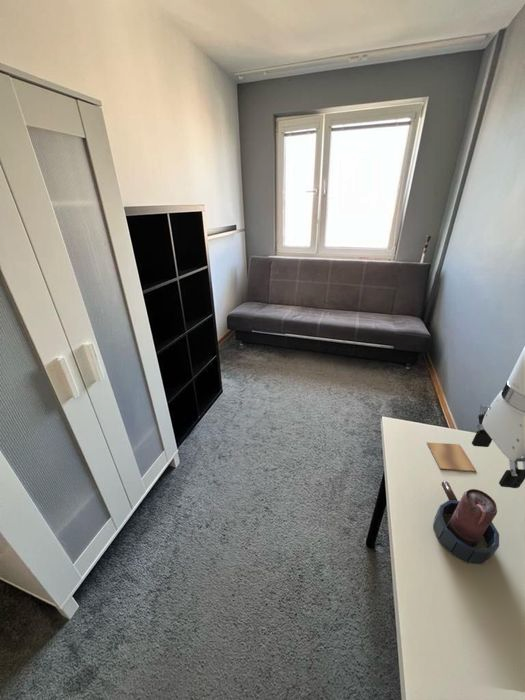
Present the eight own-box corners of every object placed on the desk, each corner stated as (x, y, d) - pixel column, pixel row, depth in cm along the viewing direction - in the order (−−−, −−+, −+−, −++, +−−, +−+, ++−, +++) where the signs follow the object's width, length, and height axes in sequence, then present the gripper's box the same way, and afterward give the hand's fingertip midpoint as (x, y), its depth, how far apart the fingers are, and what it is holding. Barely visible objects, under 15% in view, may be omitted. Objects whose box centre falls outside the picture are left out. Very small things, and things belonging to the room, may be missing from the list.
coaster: (459, 445, 90) (459, 444, 90) (476, 471, 82) (476, 471, 82) (426, 443, 92) (427, 442, 91) (439, 469, 83) (440, 468, 83)
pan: (462, 492, 76) (468, 481, 74) (502, 567, 61) (511, 555, 59) (417, 489, 78) (422, 477, 75) (446, 560, 63) (452, 549, 60)
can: (451, 547, 65) (471, 512, 58) (442, 520, 70) (460, 485, 63) (481, 553, 64) (505, 518, 57) (470, 525, 69) (491, 490, 62)
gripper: (601, 437, 40) (545, 507, 49) (520, 371, 55) (488, 433, 64) (543, 433, 41) (498, 503, 49) (479, 369, 56) (453, 431, 64)
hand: (492, 464), depth 57 cm, fingers open, 9 cm apart
